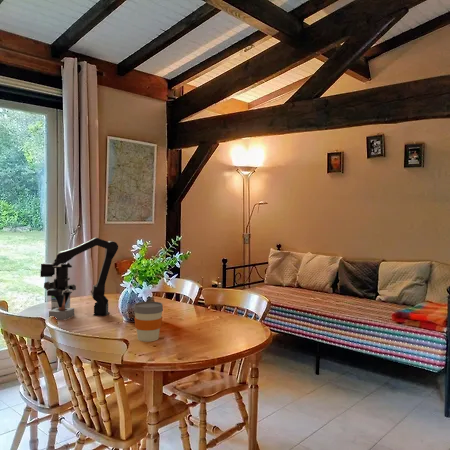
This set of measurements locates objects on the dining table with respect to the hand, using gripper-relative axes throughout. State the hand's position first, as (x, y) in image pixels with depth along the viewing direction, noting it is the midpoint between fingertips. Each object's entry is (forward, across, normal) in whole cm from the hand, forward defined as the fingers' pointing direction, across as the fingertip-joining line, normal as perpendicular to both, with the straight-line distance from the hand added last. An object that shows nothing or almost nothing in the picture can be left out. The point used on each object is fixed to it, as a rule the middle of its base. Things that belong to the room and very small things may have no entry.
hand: (61, 306), depth 223 cm
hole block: (+6, 0, 0) cm, 6 cm away
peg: (+4, 0, 0) cm, 4 cm away
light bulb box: (+6, -14, -8) cm, 17 cm away
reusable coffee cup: (+6, +26, +54) cm, 60 cm away
